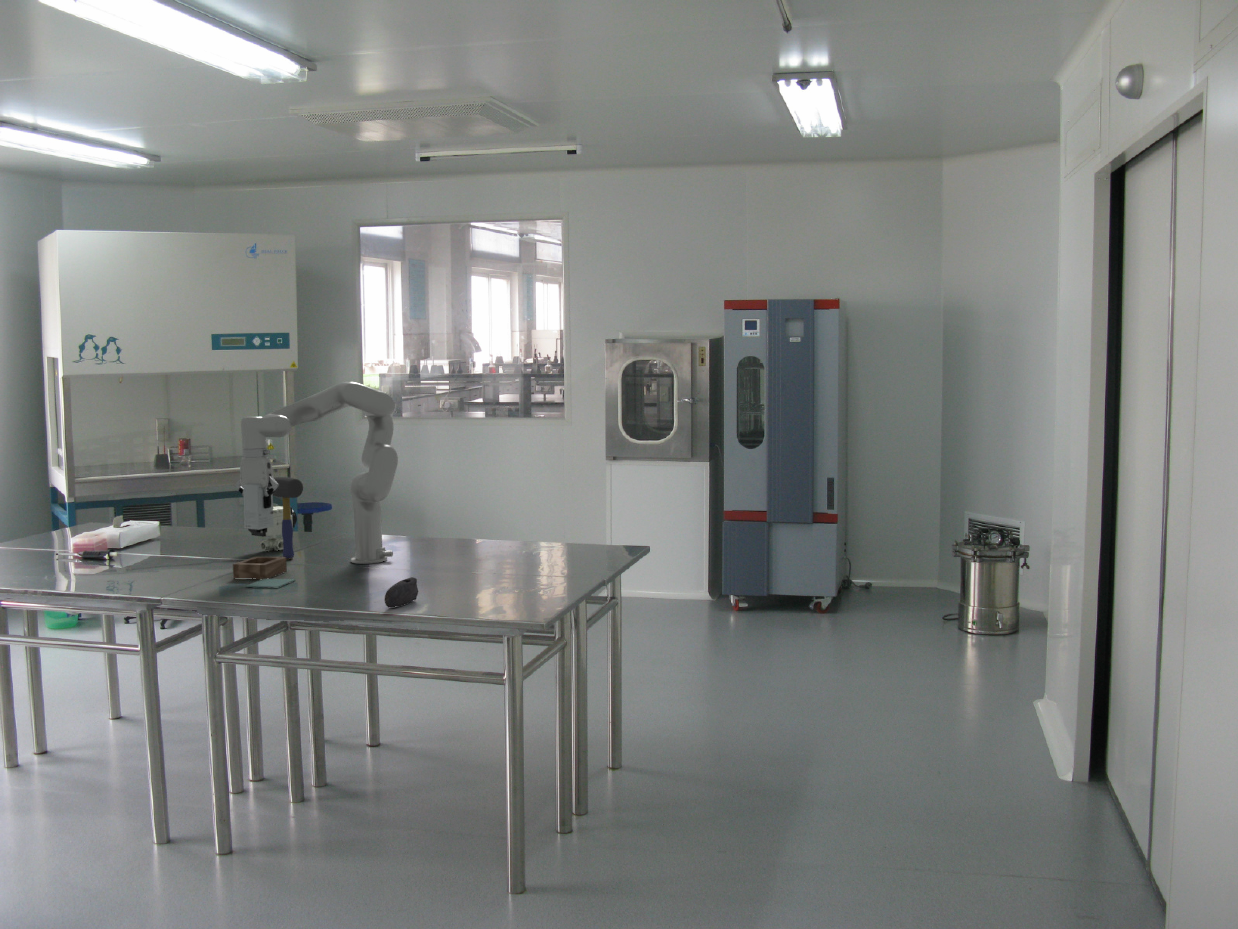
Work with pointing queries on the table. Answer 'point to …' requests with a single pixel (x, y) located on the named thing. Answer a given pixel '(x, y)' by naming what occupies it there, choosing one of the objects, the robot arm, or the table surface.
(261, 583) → the rubber mat
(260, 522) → the skincare box
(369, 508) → the robot arm
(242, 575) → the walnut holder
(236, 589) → the table surface
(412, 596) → the perforated stone tool
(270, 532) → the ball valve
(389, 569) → the table surface
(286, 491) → the rubber mallet
